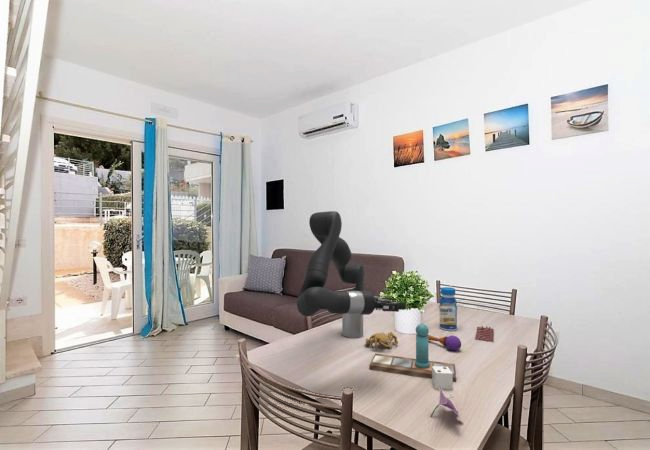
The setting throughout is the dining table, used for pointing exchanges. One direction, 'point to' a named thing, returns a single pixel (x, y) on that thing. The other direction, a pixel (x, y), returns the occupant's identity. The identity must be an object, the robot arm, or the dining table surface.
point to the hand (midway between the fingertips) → (397, 303)
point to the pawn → (422, 347)
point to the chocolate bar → (484, 334)
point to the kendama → (448, 342)
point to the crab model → (382, 339)
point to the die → (442, 377)
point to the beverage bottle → (448, 309)
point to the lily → (446, 402)
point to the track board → (406, 366)
